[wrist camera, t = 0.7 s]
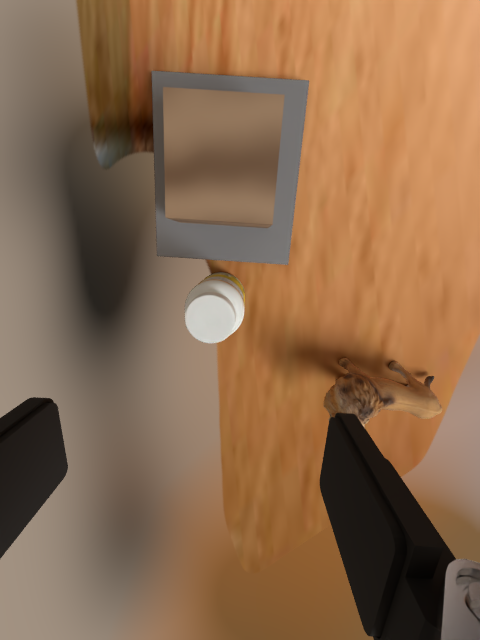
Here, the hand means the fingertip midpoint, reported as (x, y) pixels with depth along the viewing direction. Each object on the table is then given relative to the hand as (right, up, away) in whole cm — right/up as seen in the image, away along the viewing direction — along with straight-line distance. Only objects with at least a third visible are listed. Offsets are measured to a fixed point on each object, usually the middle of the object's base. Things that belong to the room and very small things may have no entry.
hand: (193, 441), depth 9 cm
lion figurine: (+17, -3, +23) cm, 29 cm away
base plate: (0, +18, +17) cm, 25 cm away
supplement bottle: (-1, +7, +20) cm, 22 cm away
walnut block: (0, +18, +16) cm, 24 cm away
